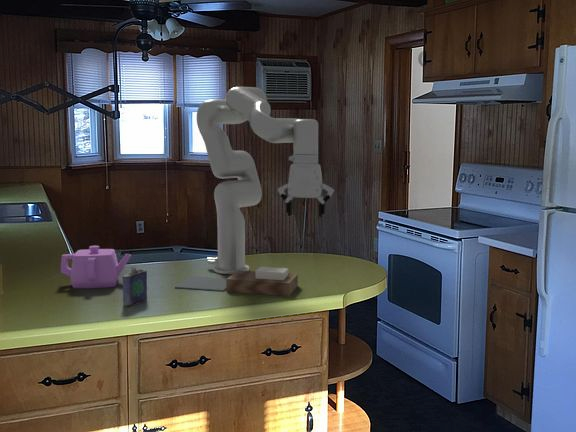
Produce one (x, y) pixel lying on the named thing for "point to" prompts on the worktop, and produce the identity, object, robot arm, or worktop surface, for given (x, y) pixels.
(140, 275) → the flask
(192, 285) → the mat
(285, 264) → the worktop surface
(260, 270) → the tile
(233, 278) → the deck
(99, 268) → the teakettle
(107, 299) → the worktop surface
